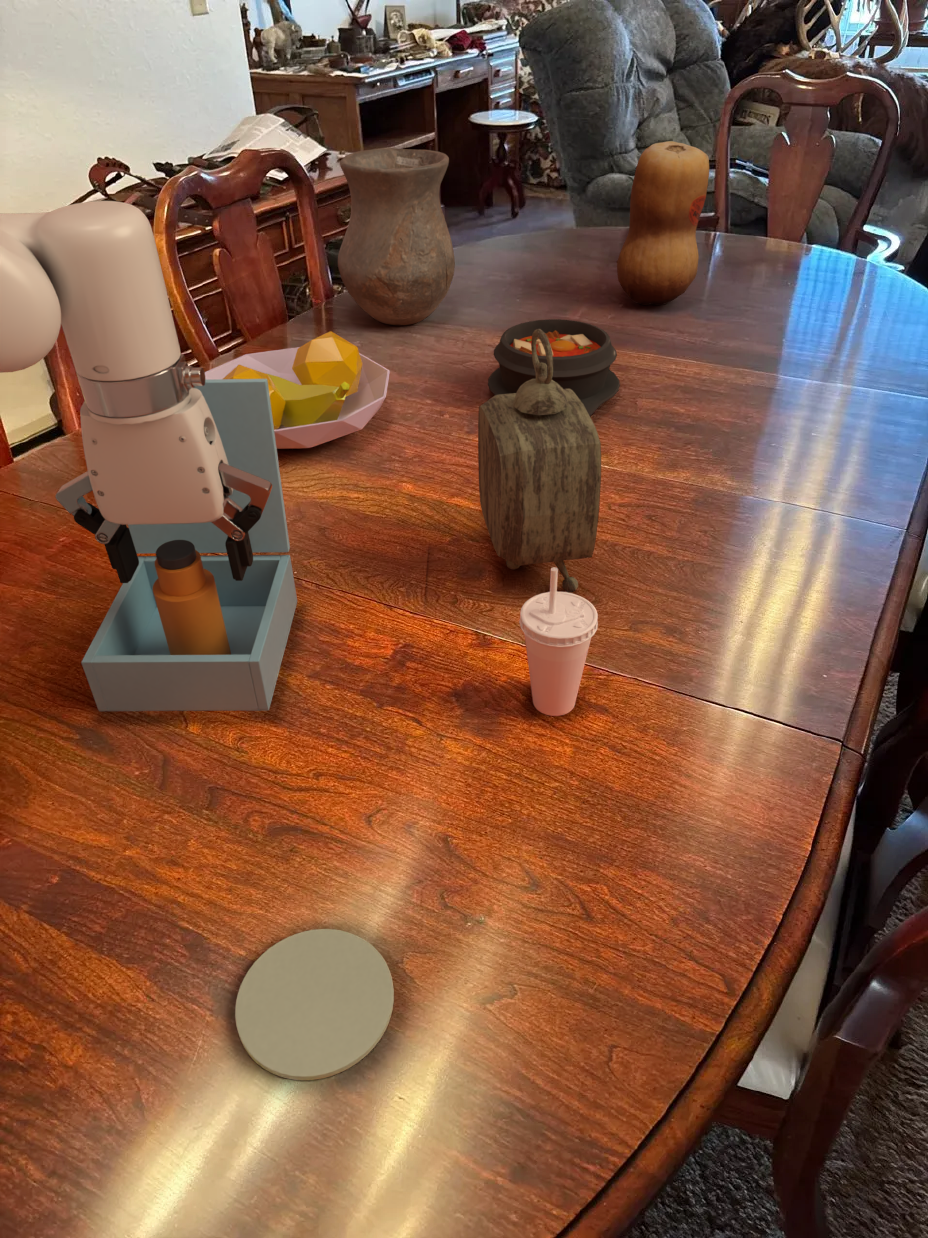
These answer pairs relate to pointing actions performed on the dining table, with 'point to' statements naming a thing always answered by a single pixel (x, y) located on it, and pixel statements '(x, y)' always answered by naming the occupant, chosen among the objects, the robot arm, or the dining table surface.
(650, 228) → the butternut squash
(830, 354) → the dining table surface
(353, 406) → the fruit bowl
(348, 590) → the dining table surface
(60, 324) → the robot arm
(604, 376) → the casserole
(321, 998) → the coaster
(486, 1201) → the dining table surface
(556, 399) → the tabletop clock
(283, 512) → the lid
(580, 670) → the smoothie
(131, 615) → the grey-blue rectangular box
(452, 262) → the vase
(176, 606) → the bottle
